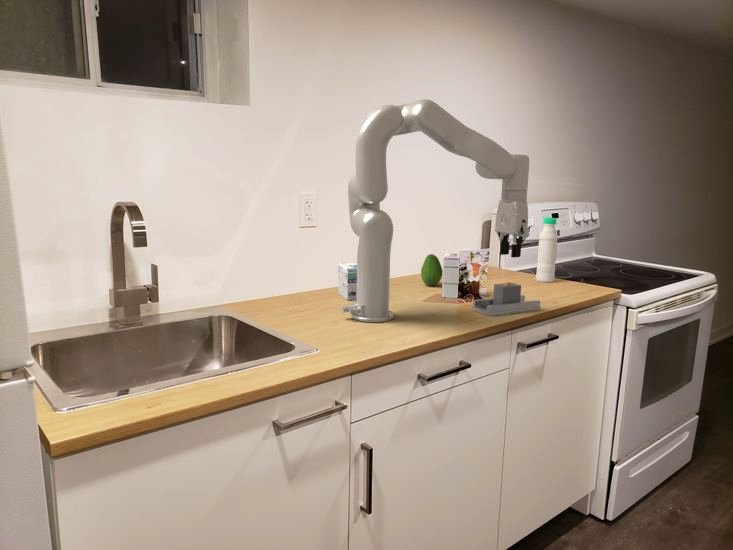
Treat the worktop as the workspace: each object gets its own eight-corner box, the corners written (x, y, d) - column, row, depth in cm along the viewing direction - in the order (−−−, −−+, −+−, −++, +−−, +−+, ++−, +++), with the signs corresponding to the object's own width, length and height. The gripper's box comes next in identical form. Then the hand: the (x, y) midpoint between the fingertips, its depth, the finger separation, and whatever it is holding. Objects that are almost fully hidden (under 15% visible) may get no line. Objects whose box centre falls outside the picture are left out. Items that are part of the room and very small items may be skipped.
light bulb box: (366, 299, 186) (366, 267, 183) (346, 301, 183) (347, 268, 181) (355, 292, 195) (356, 262, 193) (337, 293, 193) (337, 263, 191)
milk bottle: (556, 282, 218) (562, 218, 214) (538, 282, 218) (543, 218, 214) (551, 279, 225) (556, 217, 220) (533, 278, 225) (538, 216, 221)
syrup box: (458, 298, 189) (460, 256, 186) (441, 297, 190) (443, 255, 188) (459, 295, 195) (461, 253, 192) (442, 293, 196) (444, 253, 193)
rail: (489, 316, 167) (490, 306, 167) (471, 309, 175) (472, 300, 175) (540, 310, 176) (541, 300, 176) (521, 303, 184) (521, 294, 183)
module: (501, 309, 172) (503, 284, 171) (492, 306, 176) (494, 281, 174) (519, 307, 175) (521, 282, 174) (510, 304, 179) (512, 280, 177)
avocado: (417, 286, 207) (419, 254, 204) (424, 282, 214) (425, 251, 212) (438, 288, 204) (440, 256, 201) (444, 284, 211) (445, 253, 209)
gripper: (486, 194, 175) (483, 252, 178) (523, 198, 160) (518, 260, 163) (505, 194, 178) (501, 251, 181) (543, 197, 163) (538, 259, 167)
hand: (509, 255), depth 172 cm, fingers open, 4 cm apart
